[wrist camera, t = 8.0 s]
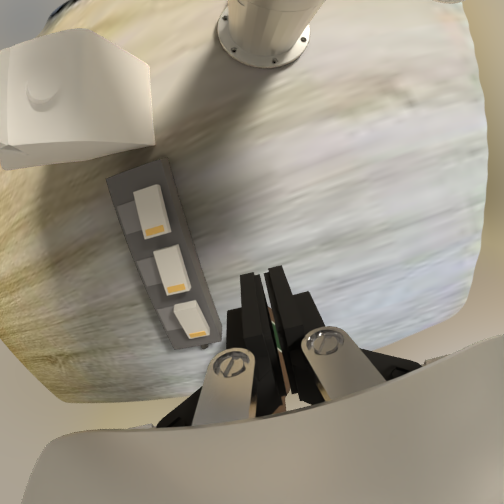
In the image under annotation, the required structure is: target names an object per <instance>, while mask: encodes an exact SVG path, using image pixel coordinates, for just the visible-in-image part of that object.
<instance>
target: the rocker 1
mask: <svg viewBox="0 0 504 504" xmlns="http://www.w3.org/2000/svg"><path fill="white" fill-rule="evenodd" d="M133 194H134V198H135V202H136V207H137V211H138V215H139V219H140V223H141V227H142V231H143V235H144V239H148V238H152V237H155V236H159V235H162V234H166V233H169V232H171V228H170V224H169V220H168V216H167V212H166V208H165V204H164V200H163V196H162V191H161V187H160V185H157V184H156V185H153V186H150V187H147V188H144V189H141V190H138V191H135V192H133Z"/></svg>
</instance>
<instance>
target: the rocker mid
mask: <svg viewBox="0 0 504 504" xmlns="http://www.w3.org/2000/svg"><path fill="white" fill-rule="evenodd" d="M153 253H154V257H155V260H156V263H157V266H158V270H159V273H160V276H161V279H162V282H163V285H164V288H165V291H166V294H167V296H168V295H172V294H177V293H181V292H186V291H189V290H190V289H191V284H190V281H189V278H188V275H187V271H186V268H185V265H184V261H183V258H182V254H181V251H180V247H179V244H177V245H173V246H169V247H165V248H162V249H158V250H155V251H154V252H153Z"/></svg>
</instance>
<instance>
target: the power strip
mask: <svg viewBox="0 0 504 504" xmlns="http://www.w3.org/2000/svg"><path fill="white" fill-rule="evenodd" d="M106 181H107V185H108V188H109V191H110V195H111V198H112V201H113V204H114V207H115V210H116V213H117V216H118V219H119V222H120V224H121V227H122V230H123V233H124V236H125V238H126V241H127V244H128V246H129V249H130V252H131V254H132V257H133V259H134V262H135V264H136V267H137V269H138V272H139V274H140V277H141V279H142V281H143V284H144V286H145V288H146V291H147V293H148V295H149V297H150V300H151V302H152V304H153V306H154V309H155V311H156V313H157V315H158V317H159V319H160V321H161V323H162V326H163V328H164V330H165V332H166V334H167V336H168V338H169V340H170V342H171V344H172V346H173V348H174V350H175V349H181V348H187V347H193V346H199V345H201V347H202V349H206V348H207V347H208V344H210V343H215V342H220V341H222V324H221V322H220V319H219V316H218V314H217V311H216V308H215V305H214V302H213V300H212V297H211V294H210V291H209V288H208V285H207V282H206V280H205V277H204V274H203V271H202V268H201V265H200V262H199V259H198V256H197V253H196V250H195V247H194V244H193V241H192V237H191V234H190V231H189V228H188V225H187V222H186V218H185V215H184V212H183V209H182V205H181V202H180V199H179V195H178V192H177V189H176V185H175V182H174V178H173V175H172V171H171V168H170V164H169V160H168V157H167V158H162V159H159V160H156V161H153V162H150V163H147V164H144V165H141V166H139V167H136V168H133V169H130V170H128V171H125V172H122V173H120V174H117V175H114V176H112V177H109V178H107V179H106ZM156 184H157V185H160V187H161V191H162V196H163V200H164V204H165V208H166V212H167V216H168V220H169V224H170V228H171V232H169V233H166V234H162V235H159V236H155V237H152V238H148V239H144V235H143V231H142V227H141V223H140V219H139V215H138V211H137V207H136V202H135V198H134V194H133V192H135V191H138V190H141V189H144V188H147V187H150V186H153V185H156ZM177 244H179V247H180V251H181V254H182V258H183V261H184V265H185V268H186V271H187V275H188V278H189V281H190V284H191V289H190V290H189V291H186V292H181V293H177V294H172V295H168V296H167V294H166V291H165V288H164V285H163V282H162V279H161V276H160V273H159V270H158V266H157V263H156V260H155V257H154V253H153V252H154V251H155V250H158V249H162V248H165V247H169V246H173V245H177ZM194 300H196V301H197V303H198V305H199V307H200V309H201V311H202V313H203V316H204V318H205V320H206V322H207V324H208V326H209V328H210V335H208V336H202V337H197V338H192V339H189V337H188V336H187V334H186V332H185V331H184V329H183V327H182V326H181V324H180V322H179V320H178V319H177V317H176V315H175V313H174V305H175V304H180V303H184V302H189V301H194Z"/></svg>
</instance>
